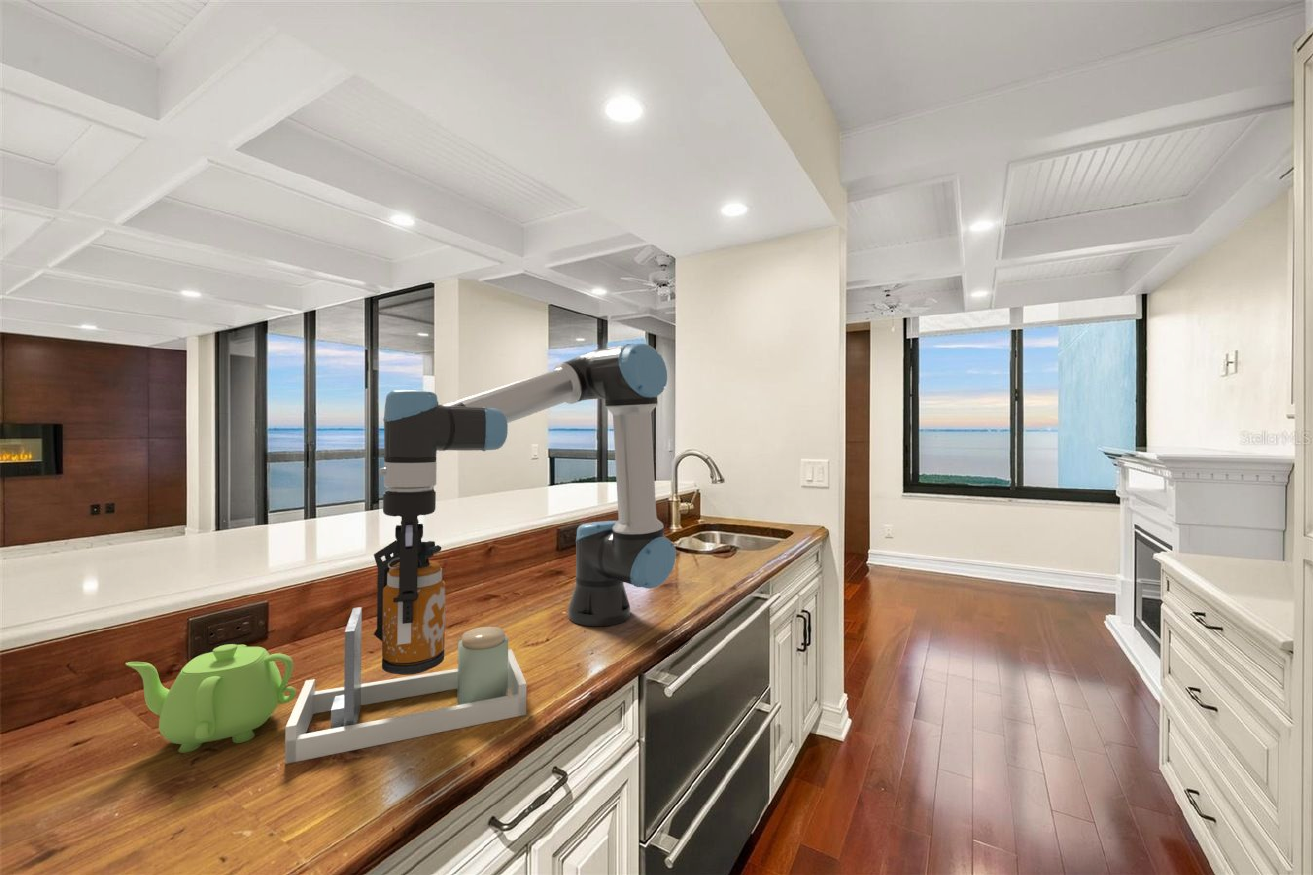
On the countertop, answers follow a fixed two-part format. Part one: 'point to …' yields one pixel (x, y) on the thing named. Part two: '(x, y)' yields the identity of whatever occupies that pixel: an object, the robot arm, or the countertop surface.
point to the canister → (426, 612)
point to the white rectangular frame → (401, 726)
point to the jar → (482, 665)
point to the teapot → (218, 695)
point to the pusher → (350, 676)
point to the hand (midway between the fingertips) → (407, 632)
